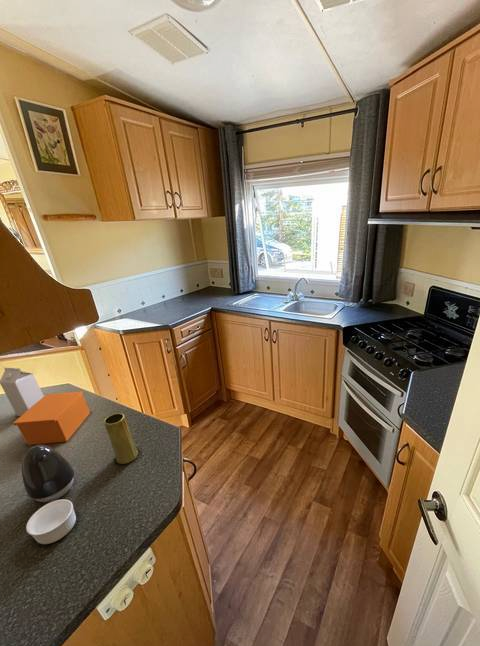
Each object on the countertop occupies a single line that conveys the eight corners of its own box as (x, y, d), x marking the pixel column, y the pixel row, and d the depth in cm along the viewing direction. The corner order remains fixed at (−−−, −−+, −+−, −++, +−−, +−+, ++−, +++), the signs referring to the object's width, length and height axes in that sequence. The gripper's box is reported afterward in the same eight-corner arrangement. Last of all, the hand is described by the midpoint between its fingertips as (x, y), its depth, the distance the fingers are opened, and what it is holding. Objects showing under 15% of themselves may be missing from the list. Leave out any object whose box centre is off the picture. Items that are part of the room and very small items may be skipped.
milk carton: (34, 405, 116) (13, 363, 108) (48, 406, 115) (28, 363, 106) (17, 416, 110) (-7, 372, 102) (32, 417, 109) (9, 373, 100)
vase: (130, 465, 84) (116, 426, 78) (111, 463, 85) (96, 424, 79) (142, 450, 90) (130, 412, 83) (124, 448, 91) (111, 411, 85)
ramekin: (29, 530, 67) (21, 518, 66) (72, 504, 73) (66, 492, 71) (39, 556, 62) (31, 543, 60) (84, 525, 68) (78, 513, 66)
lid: (55, 421, 91) (54, 419, 90) (13, 425, 90) (12, 423, 90) (82, 393, 105) (81, 391, 105) (46, 396, 105) (45, 394, 105)
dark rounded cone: (45, 516, 71) (18, 470, 64) (26, 498, 76) (-1, 454, 69) (86, 485, 78) (66, 442, 72) (67, 471, 83) (46, 429, 77)
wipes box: (67, 441, 95) (57, 419, 91) (27, 444, 95) (15, 423, 91) (90, 413, 109) (82, 393, 105) (55, 416, 109) (46, 396, 105)
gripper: (23, 290, 101) (39, 337, 108) (-3, 297, 89) (17, 350, 96) (47, 289, 102) (61, 336, 109) (24, 296, 90) (42, 348, 97)
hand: (40, 343), depth 102 cm, fingers closed
